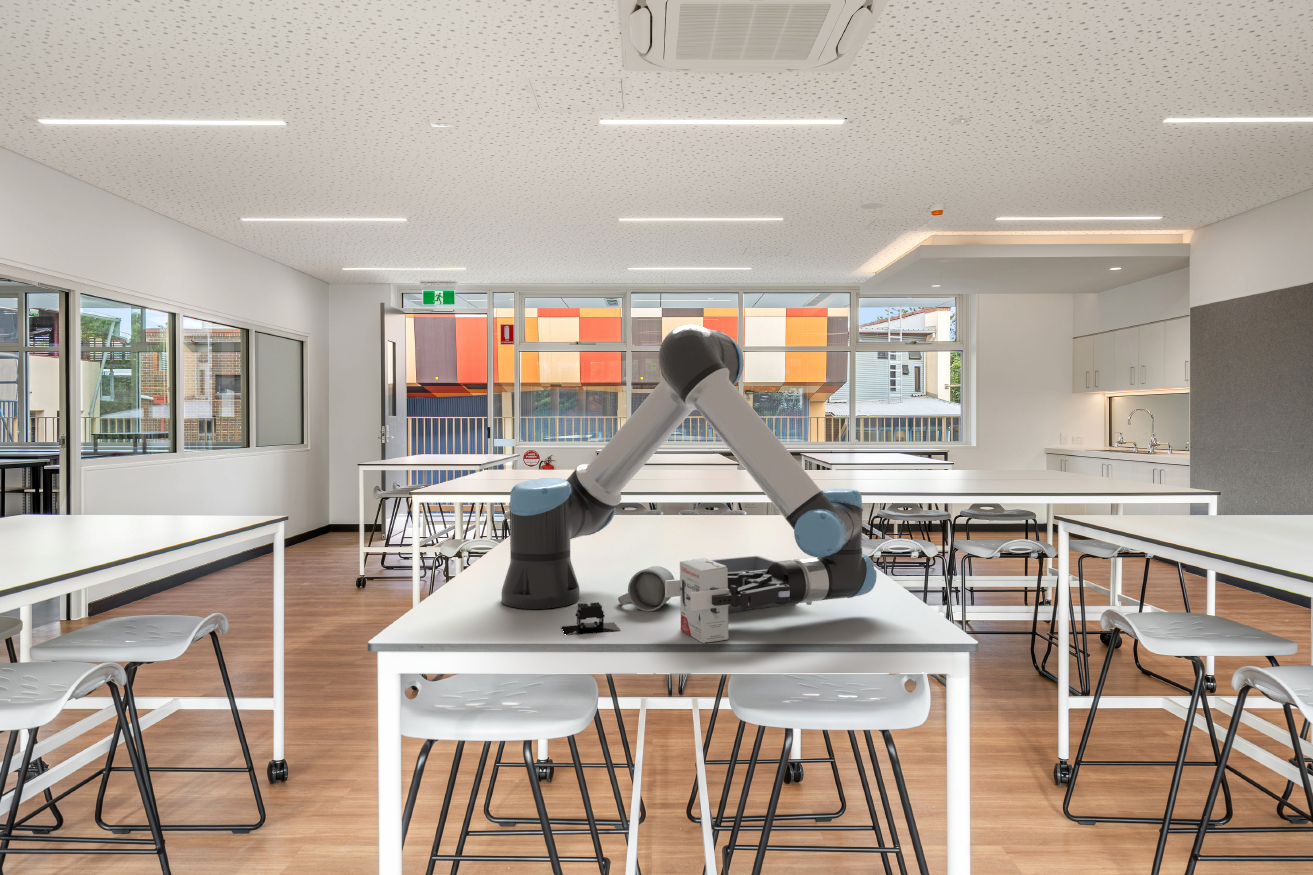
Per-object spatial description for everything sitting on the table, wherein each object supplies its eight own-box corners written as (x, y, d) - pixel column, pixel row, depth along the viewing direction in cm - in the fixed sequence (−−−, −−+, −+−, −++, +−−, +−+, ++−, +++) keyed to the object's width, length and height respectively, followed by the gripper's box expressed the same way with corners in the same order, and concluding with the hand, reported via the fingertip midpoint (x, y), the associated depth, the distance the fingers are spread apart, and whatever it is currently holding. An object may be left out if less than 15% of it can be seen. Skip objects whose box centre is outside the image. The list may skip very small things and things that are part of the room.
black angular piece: (621, 623, 127) (621, 597, 127) (630, 635, 120) (630, 607, 120) (550, 629, 124) (550, 602, 124) (556, 641, 117) (555, 613, 117)
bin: (686, 597, 144) (685, 562, 144) (757, 589, 151) (757, 555, 150) (719, 613, 131) (719, 575, 131) (795, 603, 138) (795, 567, 138)
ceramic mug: (677, 602, 140) (677, 562, 140) (666, 613, 132) (666, 571, 132) (625, 599, 143) (625, 560, 143) (611, 609, 135) (611, 568, 135)
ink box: (679, 629, 121) (678, 559, 121) (705, 626, 123) (705, 557, 123) (701, 643, 114) (701, 569, 113) (729, 640, 116) (729, 566, 115)
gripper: (834, 618, 116) (710, 635, 107) (761, 590, 136) (651, 603, 126) (834, 571, 116) (710, 585, 107) (761, 550, 135) (651, 560, 126)
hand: (678, 594), depth 116 cm, fingers closed on ink box, 9 cm apart
